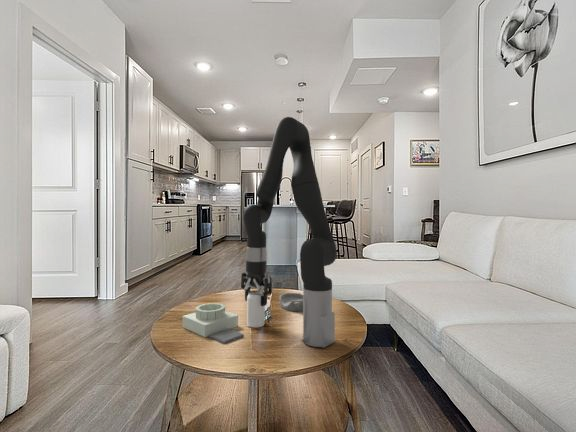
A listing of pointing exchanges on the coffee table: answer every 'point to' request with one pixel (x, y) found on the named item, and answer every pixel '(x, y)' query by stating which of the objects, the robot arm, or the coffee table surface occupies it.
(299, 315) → the coffee table surface
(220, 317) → the pedestal block
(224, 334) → the slate coaster
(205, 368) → the coffee table surface
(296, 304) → the dish
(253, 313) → the can
